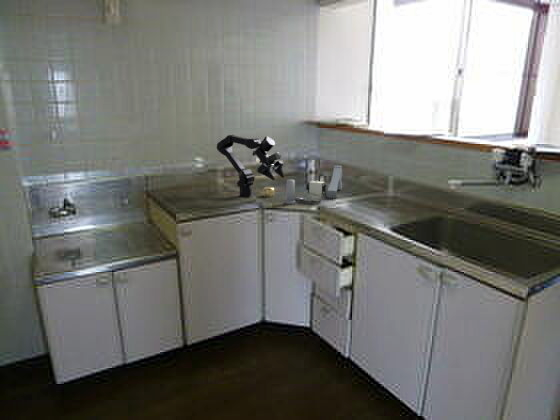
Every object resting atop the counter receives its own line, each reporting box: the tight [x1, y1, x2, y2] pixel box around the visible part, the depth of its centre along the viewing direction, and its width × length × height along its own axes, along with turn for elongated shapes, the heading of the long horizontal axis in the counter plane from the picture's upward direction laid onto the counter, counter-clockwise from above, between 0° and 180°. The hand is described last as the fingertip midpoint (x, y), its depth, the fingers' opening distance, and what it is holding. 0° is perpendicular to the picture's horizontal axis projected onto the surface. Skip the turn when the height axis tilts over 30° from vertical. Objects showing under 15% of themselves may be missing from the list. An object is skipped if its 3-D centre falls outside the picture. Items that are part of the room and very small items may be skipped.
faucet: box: [325, 165, 344, 199], centre depth 240 cm, size 6×17×30 cm
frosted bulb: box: [285, 179, 296, 205], centre depth 212 cm, size 5×5×13 cm
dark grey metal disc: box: [295, 196, 306, 202], centre depth 222 cm, size 7×7×1 cm
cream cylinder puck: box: [263, 186, 275, 198], centre depth 231 cm, size 6×6×5 cm
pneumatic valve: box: [305, 179, 329, 202], centre depth 218 cm, size 6×12×12 cm, turn 62°
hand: (279, 178), depth 215 cm, fingers open, 9 cm apart
